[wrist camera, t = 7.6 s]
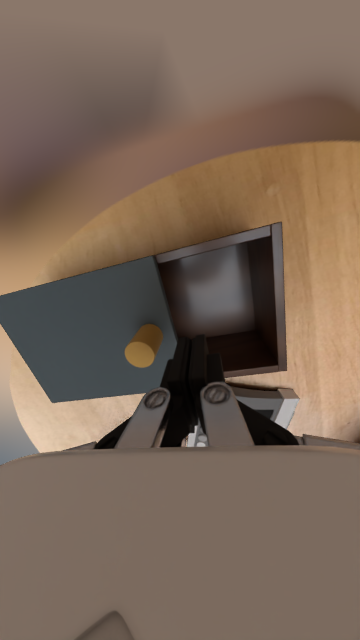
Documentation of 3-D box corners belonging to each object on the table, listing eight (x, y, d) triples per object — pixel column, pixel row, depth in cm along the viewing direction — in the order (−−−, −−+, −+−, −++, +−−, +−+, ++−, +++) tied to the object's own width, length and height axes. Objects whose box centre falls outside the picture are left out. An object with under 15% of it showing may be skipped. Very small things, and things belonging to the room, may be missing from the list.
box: (118, 265, 25) (77, 275, 17) (251, 230, 21) (282, 221, 13) (148, 348, 30) (127, 389, 21) (260, 331, 26) (287, 370, 18)
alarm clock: (195, 390, 27) (311, 414, 25) (198, 370, 32) (297, 390, 29) (184, 458, 34) (275, 482, 32) (188, 435, 38) (268, 455, 36)
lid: (-8, 297, 18) (-62, 311, 14) (154, 254, 15) (138, 257, 11) (56, 398, 23) (28, 428, 19) (190, 383, 20) (187, 415, 16)
